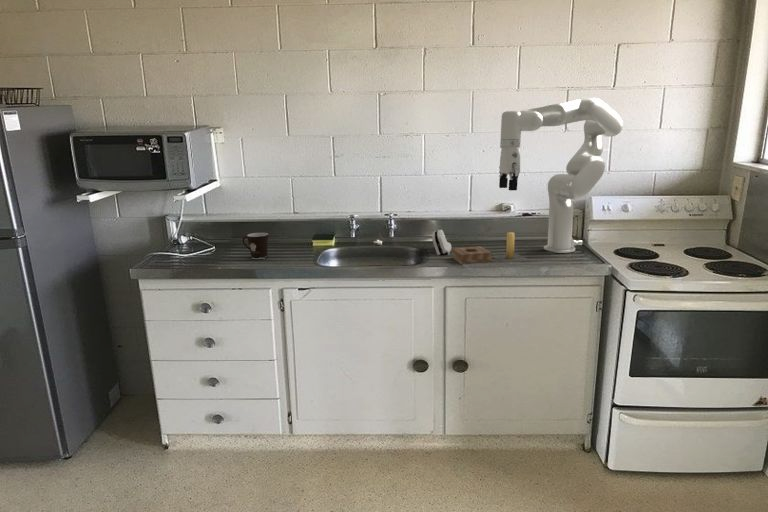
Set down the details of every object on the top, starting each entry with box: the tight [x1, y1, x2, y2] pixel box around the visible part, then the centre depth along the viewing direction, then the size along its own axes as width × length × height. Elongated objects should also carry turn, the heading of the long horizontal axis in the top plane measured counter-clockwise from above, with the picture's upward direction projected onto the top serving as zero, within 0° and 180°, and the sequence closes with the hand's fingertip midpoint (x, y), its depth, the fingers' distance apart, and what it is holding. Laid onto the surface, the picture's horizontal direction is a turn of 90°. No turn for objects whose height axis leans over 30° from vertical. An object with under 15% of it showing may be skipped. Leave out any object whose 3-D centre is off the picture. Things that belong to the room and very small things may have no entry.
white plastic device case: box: [431, 229, 452, 256], centre depth 241 cm, size 17×5×10 cm, turn 171°
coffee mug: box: [242, 232, 269, 258], centre depth 236 cm, size 12×9×10 cm
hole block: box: [451, 246, 493, 266], centre depth 223 cm, size 12×12×4 cm
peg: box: [505, 231, 516, 259], centre depth 223 cm, size 3×3×10 cm
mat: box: [492, 253, 529, 263], centre depth 224 cm, size 11×11×1 cm
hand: (507, 189), depth 221 cm, fingers open, 9 cm apart
